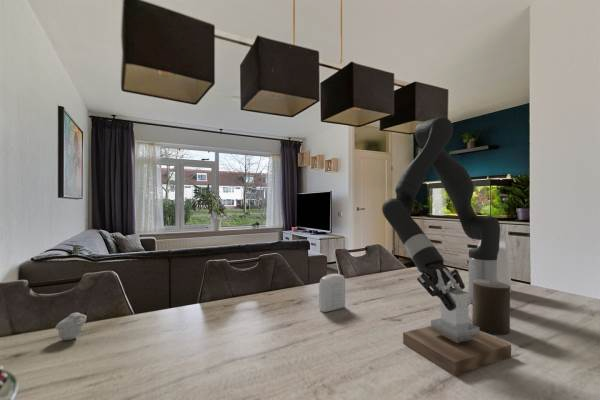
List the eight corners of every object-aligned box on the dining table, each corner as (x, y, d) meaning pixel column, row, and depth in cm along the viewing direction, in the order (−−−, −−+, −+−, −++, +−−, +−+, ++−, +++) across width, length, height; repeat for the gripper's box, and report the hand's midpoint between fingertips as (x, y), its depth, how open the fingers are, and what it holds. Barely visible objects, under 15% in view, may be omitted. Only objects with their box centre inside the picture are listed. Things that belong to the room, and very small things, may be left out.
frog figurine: (88, 338, 82) (88, 313, 82) (56, 347, 78) (56, 320, 78) (84, 331, 87) (84, 308, 87) (53, 339, 82) (53, 314, 82)
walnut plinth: (454, 330, 88) (454, 320, 88) (511, 356, 73) (511, 344, 73) (403, 343, 80) (403, 332, 80) (454, 375, 65) (454, 362, 65)
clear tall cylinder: (474, 290, 127) (474, 230, 127) (479, 284, 135) (479, 228, 135) (508, 296, 119) (508, 232, 119) (511, 290, 128) (511, 230, 128)
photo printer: (339, 304, 110) (339, 271, 110) (347, 307, 106) (347, 273, 106) (317, 309, 104) (317, 275, 104) (324, 313, 101) (324, 277, 101)
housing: (451, 324, 82) (452, 285, 82) (479, 336, 75) (479, 293, 75) (430, 329, 79) (431, 288, 79) (457, 343, 71) (457, 298, 71)
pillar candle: (498, 337, 83) (499, 285, 83) (465, 324, 92) (466, 276, 92) (516, 331, 88) (517, 281, 88) (483, 319, 96) (484, 273, 96)
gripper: (411, 246, 81) (449, 305, 70) (448, 243, 87) (488, 297, 76) (397, 262, 86) (430, 318, 75) (433, 258, 92) (469, 310, 81)
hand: (459, 307), depth 75 cm, fingers closed on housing, 4 cm apart
